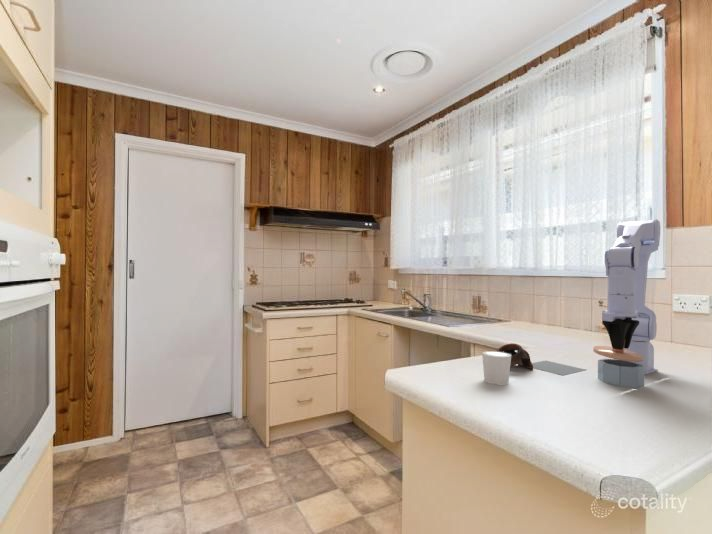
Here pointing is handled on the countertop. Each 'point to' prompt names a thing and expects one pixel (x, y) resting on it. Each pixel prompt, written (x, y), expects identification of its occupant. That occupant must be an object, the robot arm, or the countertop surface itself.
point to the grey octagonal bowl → (621, 373)
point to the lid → (618, 353)
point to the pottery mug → (517, 355)
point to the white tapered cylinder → (496, 367)
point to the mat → (556, 368)
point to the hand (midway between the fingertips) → (620, 348)
